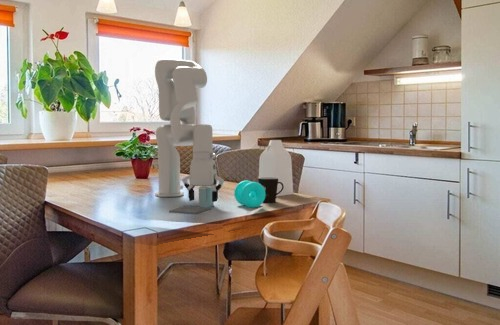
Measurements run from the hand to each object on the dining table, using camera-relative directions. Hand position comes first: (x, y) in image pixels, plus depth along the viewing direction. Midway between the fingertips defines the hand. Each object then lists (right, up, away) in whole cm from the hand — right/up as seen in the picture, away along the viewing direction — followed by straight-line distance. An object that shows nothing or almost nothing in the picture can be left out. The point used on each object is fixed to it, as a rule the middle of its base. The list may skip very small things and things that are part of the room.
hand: (203, 200), depth 183 cm
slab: (+1, -3, +3) cm, 4 cm away
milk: (+30, -1, +39) cm, 49 cm away
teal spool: (+18, -3, +4) cm, 19 cm away
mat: (-4, -3, -8) cm, 9 cm away
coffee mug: (+26, -2, +16) cm, 31 cm away
